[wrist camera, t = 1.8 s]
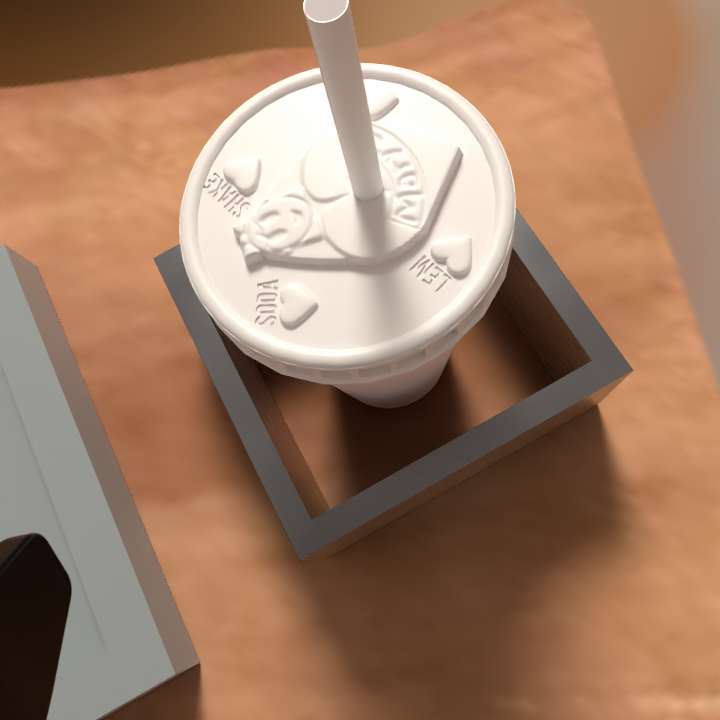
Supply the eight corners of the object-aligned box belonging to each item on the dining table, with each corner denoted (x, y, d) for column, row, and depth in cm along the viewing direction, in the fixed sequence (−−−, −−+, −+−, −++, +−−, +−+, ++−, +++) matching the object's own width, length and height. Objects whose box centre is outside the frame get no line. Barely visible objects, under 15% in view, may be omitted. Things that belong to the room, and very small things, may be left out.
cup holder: (597, 404, 20) (633, 370, 16) (328, 557, 20) (299, 560, 16) (440, 174, 23) (438, 100, 19) (203, 306, 22) (153, 258, 19)
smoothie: (523, 402, 20) (668, 120, 7) (333, 483, 20) (105, 363, 7) (439, 232, 22) (421, -247, 9) (265, 307, 22) (-14, -54, 9)
